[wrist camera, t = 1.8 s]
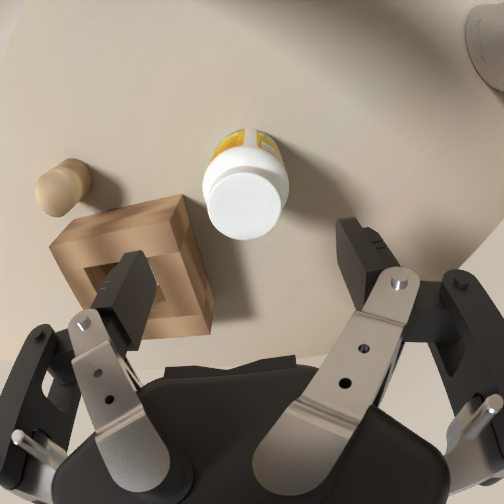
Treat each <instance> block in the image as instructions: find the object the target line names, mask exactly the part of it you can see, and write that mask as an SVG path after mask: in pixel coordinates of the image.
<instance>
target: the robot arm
mask: <svg viewBox="0 0 504 504" xmlns="http://www.w3.org/2000/svg"><path fill="white" fill-rule="evenodd" d="M465 32H466V43H467V47H468V51H469V54H470V57H471V60H472V62H473V64H474V66H475V68H476V70H477V71H478V73H479V74H480V76H481V77H482V78H483V79H484V81H485V82H486V83H487V84H489V85H490V86H491V87H493V88H495V89H497V90H499V91H503V92H504V3H501V4H487V5H480V6H477V7H476V8H474V9H473V10H472V11H471V13H470V14H469V16H468V19H467V22H466V30H465ZM336 248H337V260H338V265H339V268H340V271H341V273H342V275H343V278H344V280H345V283H346V285H347V288H348V290H349V293H350V295H351V298H352V300H353V303H354V306H355V308H356V310H355V311H354V313H353V314H352V316H351V317H350V319H349V321H348V323H347V324H346V326H345V328H344V329H343V331H342V333H341V334H340V336H339V338H338V339H337V341H336V343H335V344H334V346H333V348H332V349H331V351H330V352H329V354H328V356H327V357H326V359H325V360H324V362H323V364H322V365H321V367H320V368H316V367H312V366H307V365H299V364H296V358H295V355H290V356H283V357H276V358H268V359H261V360H258V361H255V362H252V363H249V364H246V365H243V366H239V367H236V368H233V369H229V370H222V369H215V368H208V367H201V366H179V367H166V368H165V373H164V377H162V378H159V379H156V380H154V381H152V382H150V383H148V384H146V385H145V386H143V384H142V383H141V381H140V379H139V378H138V376H137V374H136V372H135V371H134V369H133V367H132V365H131V363H130V362H129V360H128V358H127V357H126V353H127V351H138V350H139V346H140V343H141V339H142V336H143V333H144V329H145V326H146V323H147V320H148V317H149V313H150V310H151V307H152V304H153V301H154V298H155V295H156V281H155V278H154V276H153V273H152V271H151V269H150V266H149V264H148V261H147V259H146V256H145V254H144V252H143V251H142V250H138V251H132V252H126V253H124V254H123V256H122V258H121V260H120V262H119V263H118V265H117V266H115V267H114V268H113V269H112V270H111V271H110V272H109V273H108V275H107V276H106V278H105V280H104V283H103V284H102V286H101V289H100V290H99V291H98V293H97V295H96V297H95V299H94V301H93V303H92V305H91V307H90V309H86V310H83V311H81V312H79V313H77V314H76V315H75V316H74V317H73V318H72V319H71V321H70V322H69V325H68V329H65V330H62V331H59V332H56V333H55V331H54V330H53V329H52V327H51V326H50V325H49V324H42V325H39V326H37V327H36V328H34V329H33V330H32V331H31V332H30V334H29V335H28V337H27V338H26V340H25V342H24V344H23V346H22V349H21V351H20V353H19V355H18V357H17V359H16V361H15V363H14V365H13V368H12V370H11V372H10V374H9V377H8V379H7V381H6V384H5V386H4V388H3V391H2V393H1V396H0V485H1V486H2V487H3V488H4V489H6V490H8V491H9V492H11V493H13V494H15V495H17V496H19V497H21V498H23V499H25V500H27V501H31V502H33V503H35V504H446V501H447V499H448V497H449V496H451V495H454V494H456V493H459V492H461V491H464V490H466V489H468V488H471V487H473V486H475V485H478V484H479V485H482V486H489V485H492V484H494V483H496V482H498V481H499V480H501V479H502V478H504V318H503V317H502V315H501V314H500V312H499V311H498V309H497V308H496V306H495V304H494V303H493V301H492V300H491V299H490V297H489V295H488V294H487V292H486V291H485V290H484V288H483V287H482V285H481V284H480V282H479V281H478V280H477V279H476V277H475V276H474V275H472V274H471V273H469V272H467V271H464V270H459V269H455V270H450V271H448V272H446V273H445V274H444V276H443V279H442V282H427V281H420V279H419V277H418V275H417V274H416V273H415V272H414V271H412V270H410V269H408V268H404V267H401V266H400V264H399V263H398V261H397V260H396V258H395V257H394V255H393V254H392V252H391V251H390V249H389V248H388V247H387V245H386V244H385V242H383V239H382V238H381V236H380V235H379V233H377V232H376V231H374V230H373V229H371V228H369V227H367V228H362V227H361V225H360V224H359V222H358V221H357V219H356V218H355V217H350V218H343V219H337V220H336ZM405 342H427V343H428V346H429V348H430V350H431V353H432V355H433V357H434V360H435V363H436V365H437V368H438V371H439V373H440V376H441V378H442V381H443V384H444V387H445V389H446V392H447V395H448V398H449V400H450V404H451V407H452V409H453V413H454V416H455V418H454V420H453V421H452V422H451V423H450V425H449V427H448V429H447V435H446V437H447V450H446V453H445V455H444V456H443V455H442V454H441V452H440V451H439V450H438V449H437V448H436V447H434V446H433V445H432V444H430V443H429V442H427V441H426V440H424V439H423V438H421V437H420V436H418V435H417V434H415V433H414V432H412V431H411V430H409V429H408V428H407V427H405V426H404V425H402V424H401V423H399V422H398V421H396V420H395V419H394V418H392V417H391V416H389V415H388V414H386V413H385V412H384V411H382V410H381V409H379V406H380V403H381V401H382V399H383V397H384V395H385V392H386V389H387V387H388V384H389V382H390V380H391V377H392V375H393V372H394V370H395V368H396V365H397V363H398V360H399V358H400V355H401V353H402V350H403V348H404V345H405ZM46 371H48V372H49V373H50V374H51V376H52V377H53V378H54V380H53V383H52V385H51V388H50V391H49V394H48V397H47V398H46V397H45V395H44V394H43V392H42V382H43V379H44V376H45V374H46ZM81 394H82V397H83V400H84V402H85V405H86V408H87V411H88V413H89V416H90V419H91V421H92V424H93V426H94V429H95V432H94V433H93V434H92V435H91V436H89V438H87V439H86V440H85V441H84V442H83V443H82V444H81V445H80V446H79V447H78V448H77V449H76V450H75V451H74V452H73V453H72V454H71V455H70V456H67V450H68V446H69V441H70V437H71V433H72V428H73V424H74V420H75V416H76V412H77V408H78V405H79V401H80V398H81Z"/></svg>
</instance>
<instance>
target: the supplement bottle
mask: <svg viewBox="0 0 504 504" xmlns="http://www.w3.org/2000/svg"><path fill="white" fill-rule="evenodd" d="M202 189H203V196H204V200H205V202H206V204H207V209H208V215H209V217H210V220H211V222H212V223H213V225H214V226H215V227H216V229H217V230H219V231H220V232H221V233H222V234H224V235H226V236H228V237H230V238H233V239H237V240H252V239H256V238H259V237H261V236H263V235H265V234H267V233H268V232H270V231H271V230H272V229H273V228H274V226H275V225H276V224H277V222H278V220H279V218H280V215H281V210H282V209H283V207H284V206H285V204H286V201H287V198H288V194H289V180H288V175H287V172H286V169H285V165H284V163H283V159H282V156H281V153H280V150H279V148H278V146H277V144H276V143H275V141H274V140H273V139H272V138H271V137H270V136H269V135H267V134H266V133H264V132H262V131H259V130H256V129H249V128H246V129H239V130H236V131H234V132H232V133H230V134H228V135H227V136H226V137H224V138H223V139H222V141H221V142H220V143H219V144H218V146H217V148H216V150H215V152H214V155H213V157H212V159H211V161H210V163H209V165H208V167H207V170H206V172H205V175H204V178H203V187H202Z"/></svg>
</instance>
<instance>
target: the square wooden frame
mask: <svg viewBox="0 0 504 504" xmlns="http://www.w3.org/2000/svg"><path fill="white" fill-rule="evenodd" d="M49 248H50V250H51V252H52V254H53V256H54V258H55V260H56V262H57V264H58V266H59V268H60V270H61V272H62V273H63V275H64V277H65V279H66V281H67V282H68V284H69V286H70V288H71V290H72V291H73V293H74V295H75V296H76V298H77V300H78V301H79V303H80V305H81V306H82V308H83V310H86V309H90V307H91V305H92V303H93V301H94V299H95V297H96V295H97V293H98V291H99V290H100V289H101V286H102V284H103V283H104V280H105V278H106V276H107V275H108V273H109V272H110V271H111V270H112V269H113V268H114V267H115V266H116V265H115V263H116V262H120V260H121V258H122V256H123V254H124V253H126V252H132V251H138V250H142V251H143V252H144V254H145V256H146V257H148V258H149V261H150V263H151V266H152V268H153V271H154V273H155V275H156V278H157V280H158V282H159V285H160V286H156V295H155V298H154V301H153V304H152V307H151V310H150V313H149V317H148V320H147V323H146V326H145V329H144V333H143V336H142V339H141V340H145V339H161V338H176V337H188V336H200V335H210V333H211V325H212V317H213V309H214V301H215V299H214V296H213V293H212V290H211V287H210V284H209V281H208V277H207V274H206V271H205V268H204V265H203V262H202V259H201V255H200V252H199V249H198V246H197V242H196V239H195V236H194V233H193V229H192V226H191V223H190V219H189V216H188V212H187V209H186V206H185V202H184V199H183V195H182V194H181V195H177V196H172V197H167V198H162V199H158V200H153V201H149V202H144V203H140V204H135V205H131V206H127V207H123V208H118V209H114V210H110V211H106V212H102V213H98V214H94V215H90V216H87V217H83V218H79V219H75V220H73V221H72V222H71V223H70V224H69V225H68V226H67V227H66V228H65V229H64V230H63V231H62V232H61V234H60V235H59V236H58V237H57V238H56V239H55V240H54V241H53V243H52V244H51V245H50V246H49Z"/></svg>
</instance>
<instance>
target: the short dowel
mask: <svg viewBox="0 0 504 504" xmlns="http://www.w3.org/2000/svg"><path fill="white" fill-rule="evenodd" d="M91 184H92V178H91V173H90V171H89V169H88V167H87V166H86V165H85V164H84V163H83V162H82V161H80V160H78V159H67V160H65V161H64V162H62V163H60V164H59V165H57V166H56V167H54V168H53V169H51V170H50V171H48V172H47V173H45V174H44V175H42V176H41V177H40V178H39V179H38V181H37V183H36V186H35V196H36V200H37V202H38V204H39V206H40V208H41V209H42V210H43V211H44V212H45V213H46V214H48V215H50V216H52V217H62V216H64V215H65V214H66V213H68V212H69V211H70V210H71V209H72V208H73V207H74V206H75V205H76V204H77V203H78V202H79V201H80V200H81V199H82V198H83V197H84V196H85V195H86V194H87V193H88V192H89V190H90V188H91Z"/></svg>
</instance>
